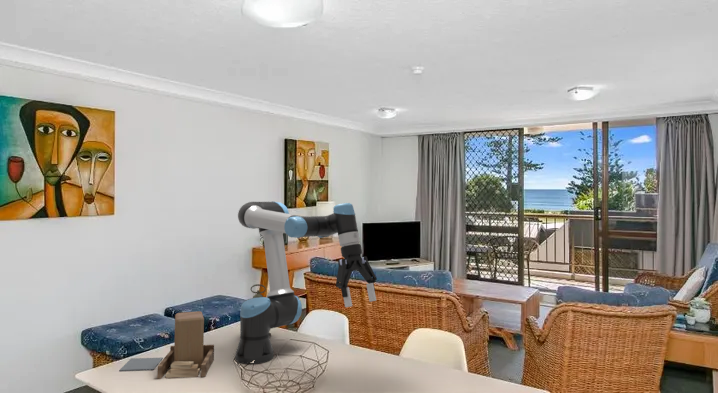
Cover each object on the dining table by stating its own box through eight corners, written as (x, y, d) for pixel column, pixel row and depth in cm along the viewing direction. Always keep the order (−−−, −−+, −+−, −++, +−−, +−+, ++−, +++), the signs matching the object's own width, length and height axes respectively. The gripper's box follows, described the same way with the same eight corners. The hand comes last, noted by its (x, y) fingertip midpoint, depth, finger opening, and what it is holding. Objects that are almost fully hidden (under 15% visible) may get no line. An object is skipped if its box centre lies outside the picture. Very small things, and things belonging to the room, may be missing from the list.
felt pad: (131, 359, 177) (131, 358, 177) (162, 358, 179) (162, 357, 179) (119, 371, 165) (119, 369, 165) (153, 370, 167) (153, 368, 167)
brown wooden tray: (170, 361, 177) (171, 345, 177) (213, 359, 179) (214, 344, 179) (157, 378, 159) (157, 361, 159) (205, 377, 161) (205, 360, 162)
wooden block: (173, 364, 173) (175, 312, 173) (201, 361, 177) (202, 310, 177) (174, 373, 164) (175, 319, 164) (203, 369, 168) (204, 316, 168)
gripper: (334, 244, 152) (345, 307, 147) (378, 241, 171) (389, 297, 167) (319, 249, 156) (329, 310, 152) (363, 245, 175) (374, 300, 171)
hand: (361, 303), depth 159 cm, fingers open, 13 cm apart
